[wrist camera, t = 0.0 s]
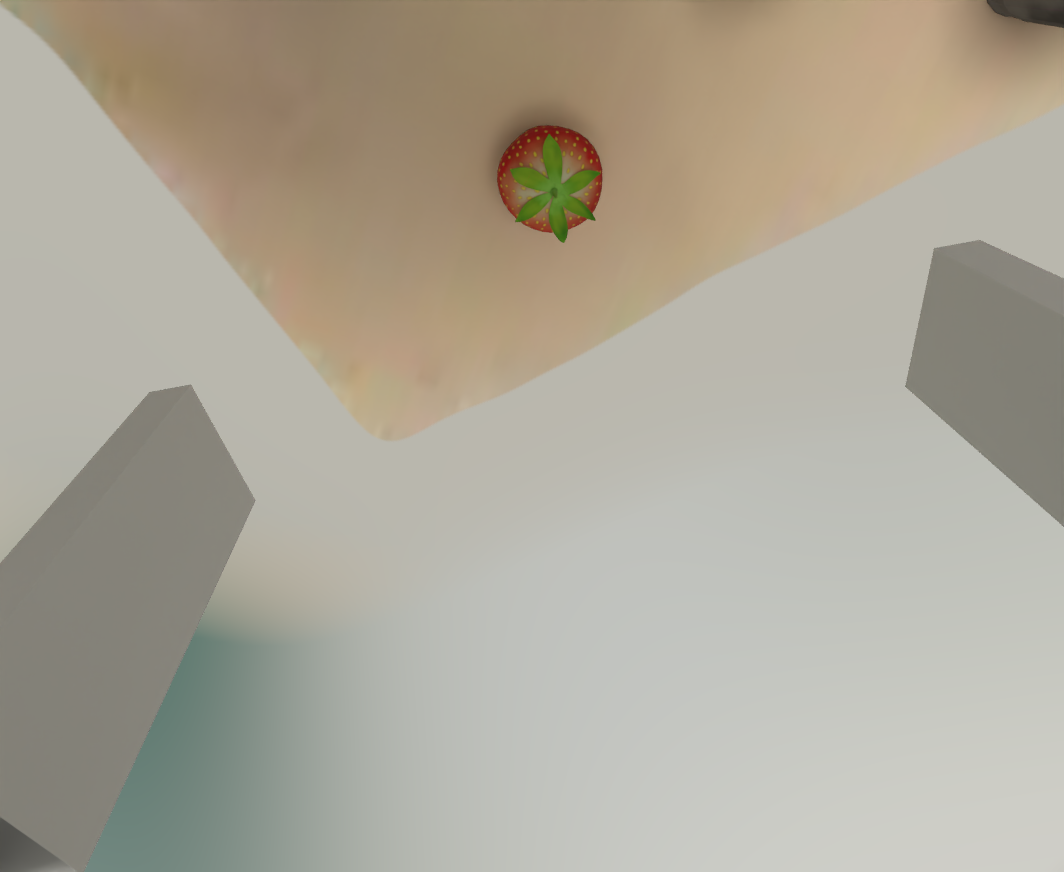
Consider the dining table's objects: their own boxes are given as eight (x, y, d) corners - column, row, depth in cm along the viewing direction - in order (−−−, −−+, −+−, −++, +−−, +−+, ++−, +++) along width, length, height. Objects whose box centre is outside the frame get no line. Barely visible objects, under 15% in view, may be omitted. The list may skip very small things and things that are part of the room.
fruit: (590, 111, 34) (617, 135, 27) (588, 208, 37) (611, 251, 30) (493, 115, 34) (495, 139, 27) (498, 212, 37) (502, 256, 30)
